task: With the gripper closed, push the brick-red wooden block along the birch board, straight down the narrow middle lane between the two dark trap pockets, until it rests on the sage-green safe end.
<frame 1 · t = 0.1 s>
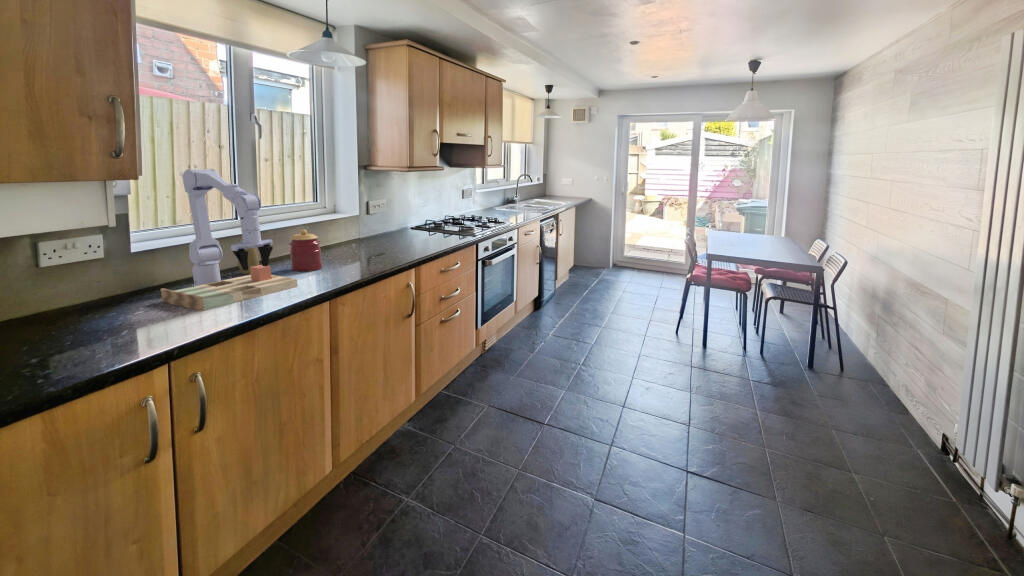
hand: (255, 268, 176), 10 cm above the worktop, tool pointing down, fingers open, 7 cm apart
canister: (307, 269, 223), on the worktop
block: (261, 279, 190), point 3 cm above the worktop, touching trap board
squeeze bottle: (250, 273, 214), on the worktop
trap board: (235, 293, 181), on the worktop
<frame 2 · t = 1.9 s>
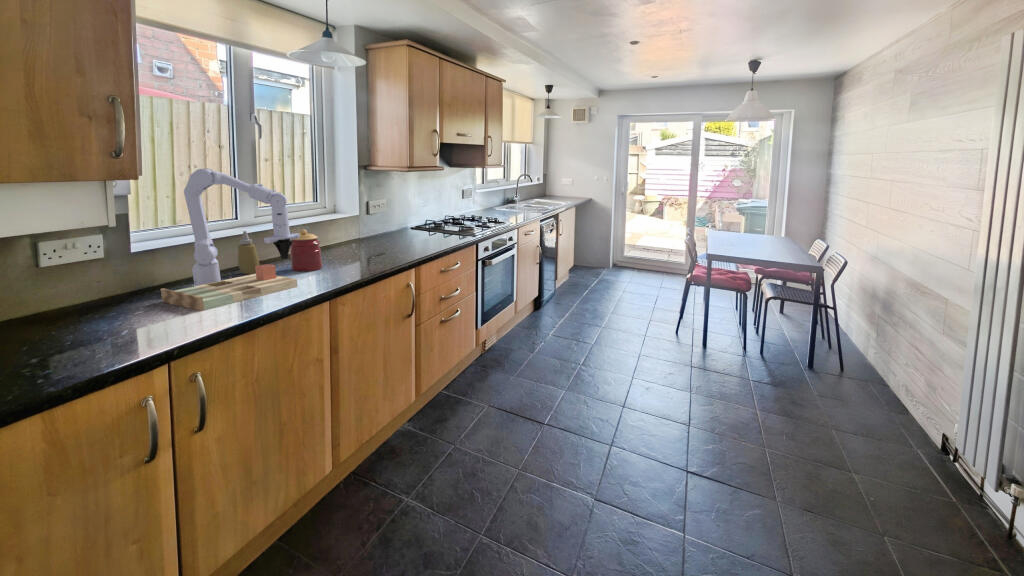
hand: (284, 258, 198), 9 cm above the worktop, tool pointing down, fingers closed
block: (266, 278, 191), point 3 cm above the worktop, touching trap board
everything else where it was.
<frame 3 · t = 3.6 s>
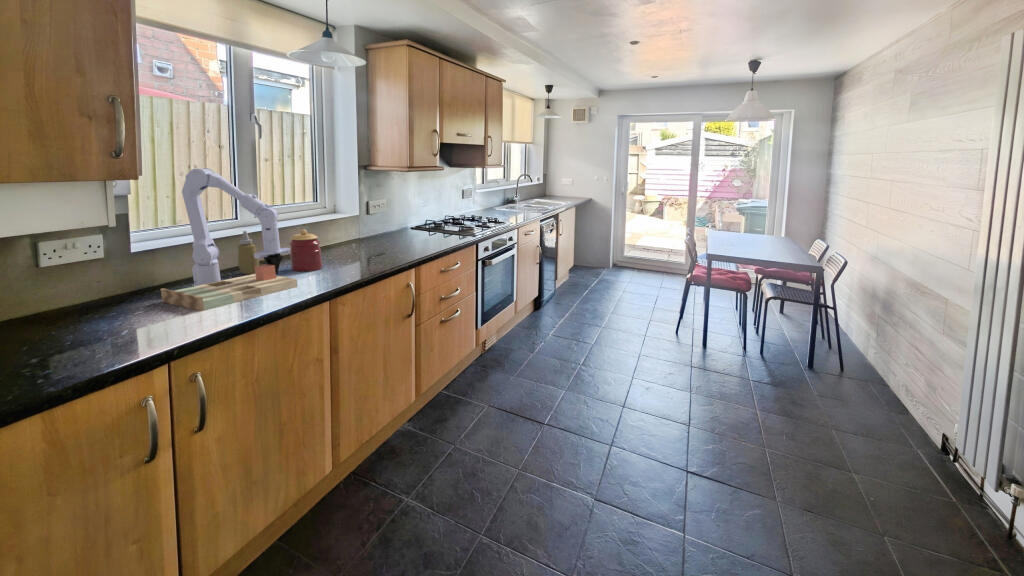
hand: (275, 273, 195), 4 cm above the worktop, tool pointing down, fingers closed
block: (266, 278, 191), point 3 cm above the worktop, touching gripper
everything else where it was.
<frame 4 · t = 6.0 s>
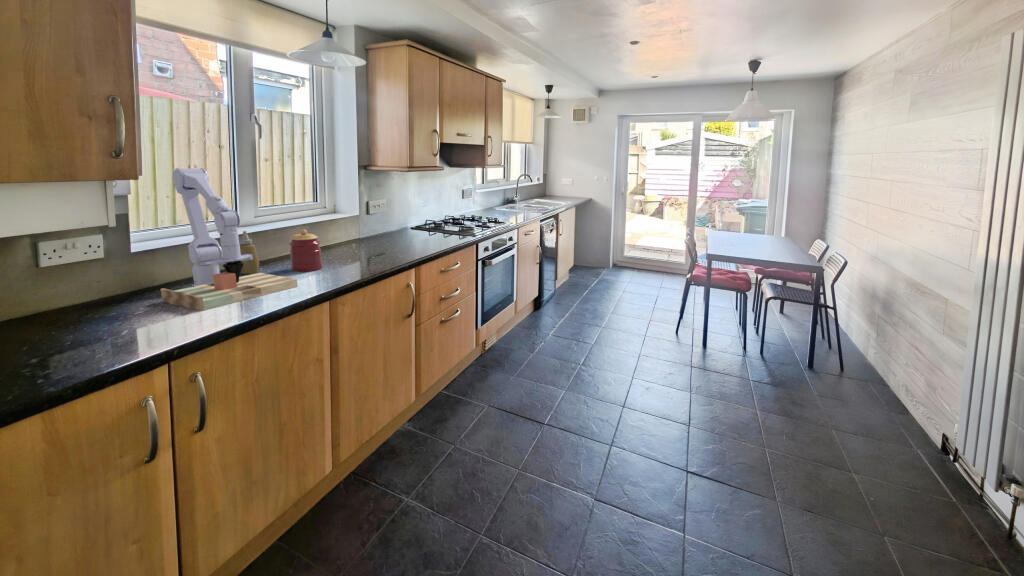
hand: (235, 282, 181), 4 cm above the worktop, tool pointing down, fingers closed
block: (226, 287, 177), point 3 cm above the worktop, touching gripper, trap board
everything else where it was.
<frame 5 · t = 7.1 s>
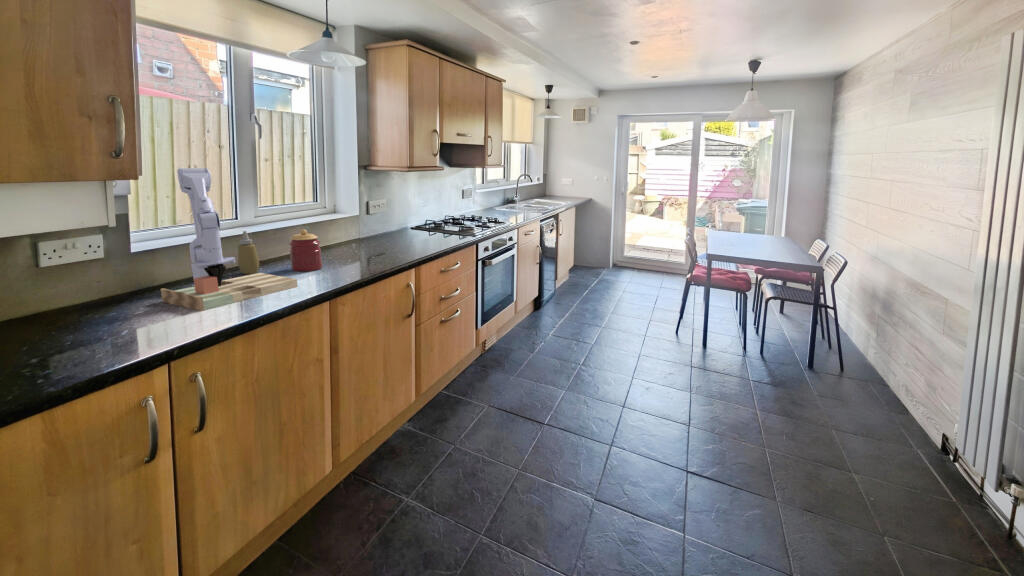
hand: (217, 286, 175), 4 cm above the worktop, tool pointing down, fingers closed
block: (207, 292, 171), point 3 cm above the worktop, touching gripper, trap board
everything else where it was.
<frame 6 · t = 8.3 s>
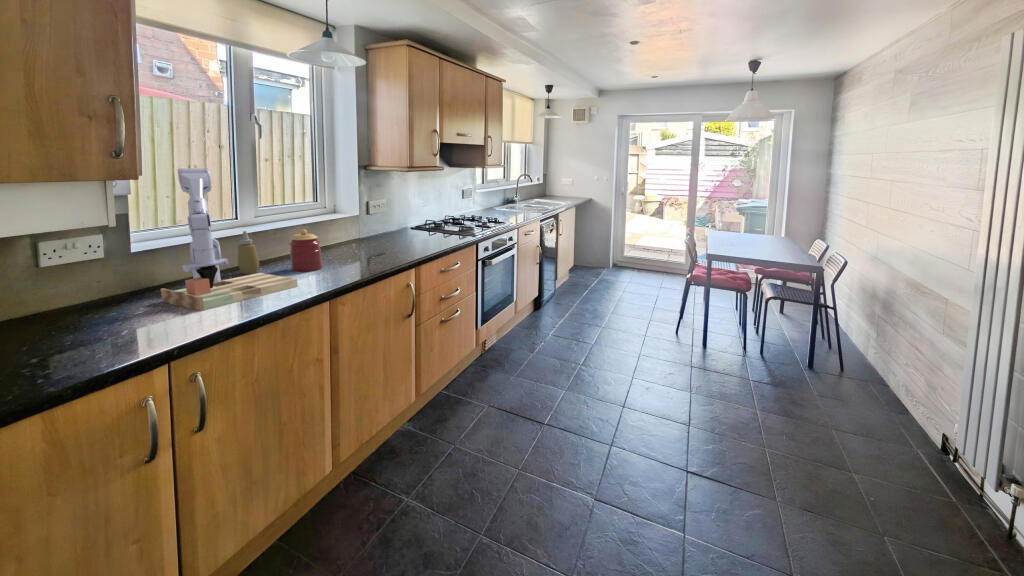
hand: (209, 288, 173), 4 cm above the worktop, tool pointing down, fingers closed
block: (199, 293, 169), point 3 cm above the worktop, touching gripper, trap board
everything else where it was.
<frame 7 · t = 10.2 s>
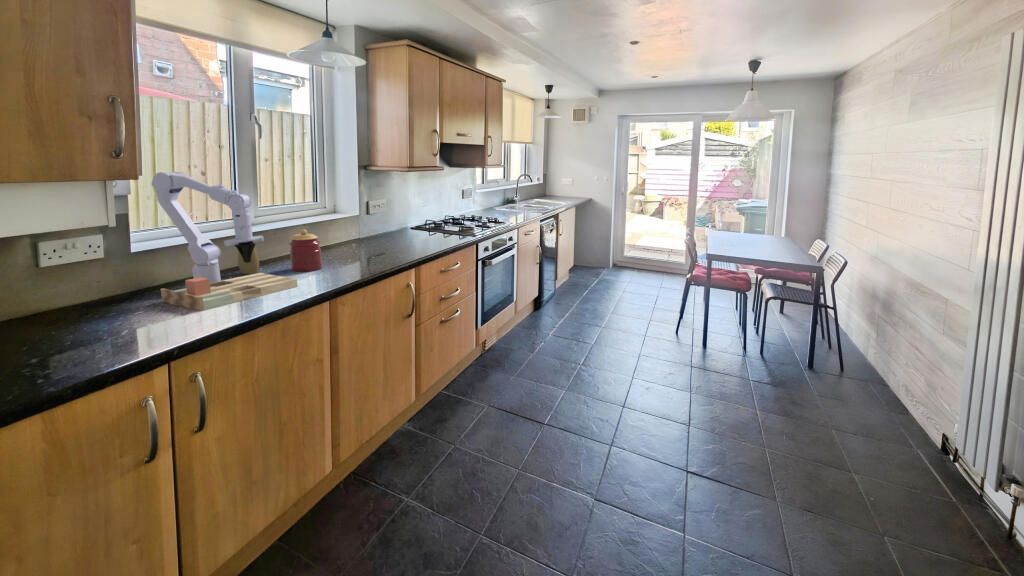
hand: (247, 262, 189), 9 cm above the worktop, tool pointing down, fingers closed
block: (199, 293, 169), point 3 cm above the worktop, touching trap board
everything else where it was.
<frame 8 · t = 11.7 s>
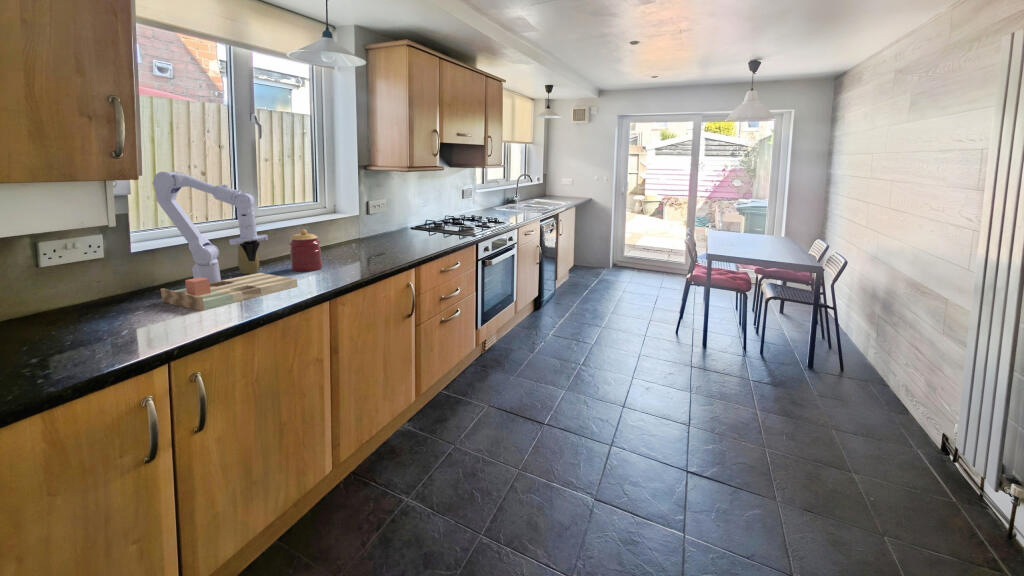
hand: (251, 260, 192), 9 cm above the worktop, tool pointing down, fingers closed
nothing on the worktop moved.
at the end: block inside the target area (1.1 cm from its centre), point 3.0 cm above the worktop; block tilted 0°; block moved 24.2 cm from its start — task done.
